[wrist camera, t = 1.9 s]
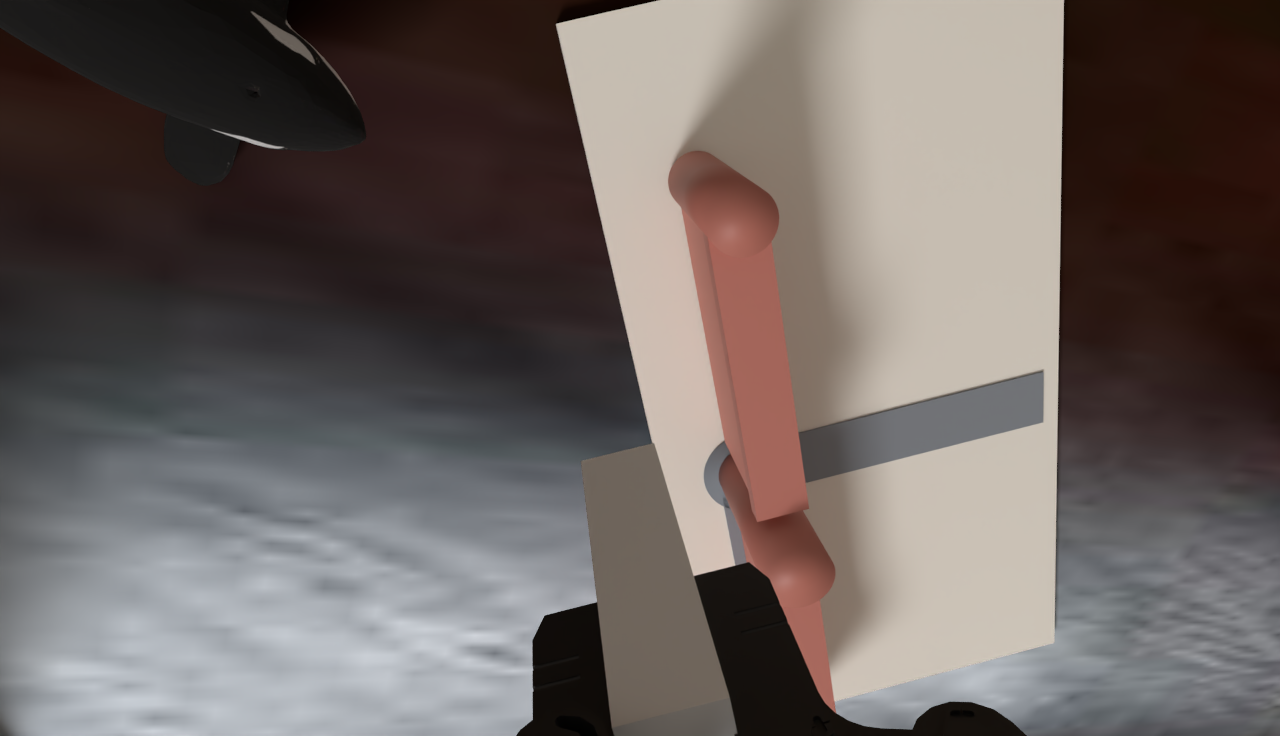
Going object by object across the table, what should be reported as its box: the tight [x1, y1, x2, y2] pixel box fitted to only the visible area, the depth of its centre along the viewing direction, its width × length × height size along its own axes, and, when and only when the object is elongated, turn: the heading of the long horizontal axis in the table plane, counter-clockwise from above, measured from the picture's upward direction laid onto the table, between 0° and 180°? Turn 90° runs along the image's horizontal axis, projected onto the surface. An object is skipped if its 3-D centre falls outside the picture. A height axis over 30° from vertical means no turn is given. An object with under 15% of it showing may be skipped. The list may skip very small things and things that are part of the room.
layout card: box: [556, 0, 1064, 702], centre depth 32 cm, size 17×32×1 cm, turn 12°
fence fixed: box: [719, 454, 836, 713], centre depth 32 cm, size 2×15×7 cm, turn 12°
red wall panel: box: [668, 151, 809, 522], centre depth 27 cm, size 11×2×6 cm, turn 12°
